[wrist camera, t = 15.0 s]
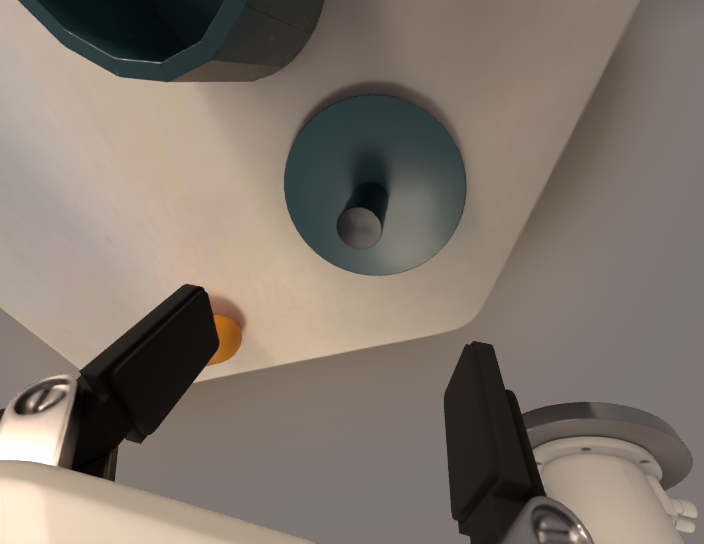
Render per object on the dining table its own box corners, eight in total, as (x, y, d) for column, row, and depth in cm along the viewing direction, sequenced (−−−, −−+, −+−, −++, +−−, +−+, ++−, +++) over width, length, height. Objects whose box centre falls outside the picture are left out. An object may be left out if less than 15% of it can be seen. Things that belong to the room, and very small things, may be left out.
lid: (491, 105, 18) (521, 115, 13) (438, 279, 25) (443, 329, 20) (285, 84, 19) (238, 85, 14) (292, 255, 27) (263, 295, 22)
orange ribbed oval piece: (230, 300, 32) (202, 334, 28) (258, 333, 34) (236, 369, 30) (185, 316, 35) (153, 349, 31) (213, 346, 37) (187, 380, 33)
